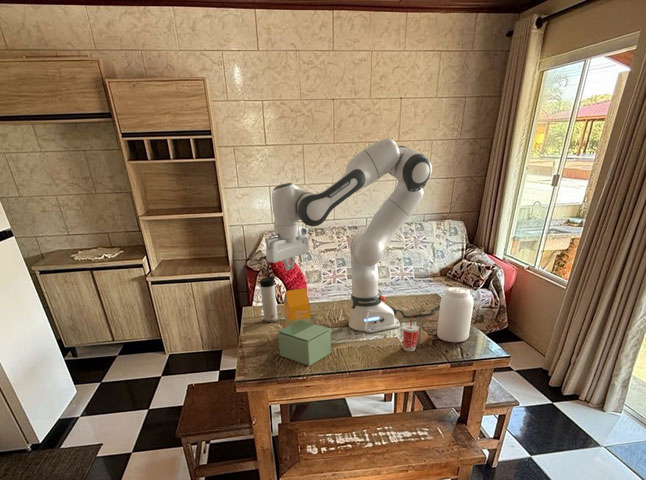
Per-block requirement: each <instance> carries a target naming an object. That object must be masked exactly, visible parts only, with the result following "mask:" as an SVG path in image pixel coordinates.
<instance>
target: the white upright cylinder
mask: <svg viewBox="0 0 646 480" xmlns="http://www.w3.org/2000/svg"><path fill="white" fill-rule="evenodd" d="M474 303H475V302H474V297H473V296H472V295H471V291H470V289H468V288H467V287H463V286H452V287H449V288H447V290H446V292H445V293H444V294H442V296H441V298H440V301H439V306H440V308H439V312H438V319H437V320H438V321H437V330H436V335H437V336H436V337H438V338H439V339H440V340H442V341H444V342H448V343H461V342H465V341H467V340H468V339H469V337H470V329H471V323H472V318H473V316H472V315H473V310H474Z"/></svg>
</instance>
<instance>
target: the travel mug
mask: <svg viewBox="0 0 646 480" xmlns="http://www.w3.org/2000/svg"><path fill="white" fill-rule="evenodd" d="M259 287H260V296H261V303H262V310H263V311H262V314H263V320H264V322H266V323H275V322H277V321H278V319H279V318H278V308H277V298H276V287H275V276H274V277H273V276H267V277H263V278H261V279H260V280H259Z"/></svg>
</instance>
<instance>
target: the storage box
mask: <svg viewBox="0 0 646 480" xmlns="http://www.w3.org/2000/svg"><path fill="white" fill-rule="evenodd" d="M314 324H315V323H314ZM331 334H332V333H331V328H330V327H326V326H323V325H319V324H315V325H313V326H311V327H309V328H307V329H305V330H303V331H301V332H299V333H297V334H295V335H293V336H289V335H286V334H283V333H280V332H277V337H278V338H277V339H278V349H279V356H280V357H283V358H286V359H288V360H291V361H294V362H297V363H300V364H303V365H306V366H308V367H309V366H310V367H311V366H312V365H314V364H315V363H317V362H319V361H321V360H322V359H323V358H325V357H327V356H329V355H330V354H332V337H331Z"/></svg>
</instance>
